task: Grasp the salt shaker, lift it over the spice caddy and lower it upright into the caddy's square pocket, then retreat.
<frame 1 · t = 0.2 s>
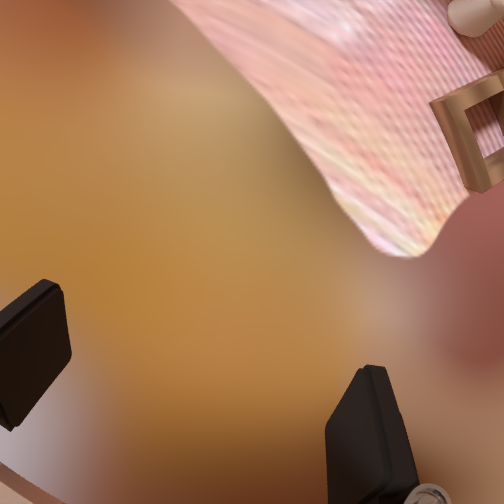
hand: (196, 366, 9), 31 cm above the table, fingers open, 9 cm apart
salt shaker: (458, 22, 26), on the table
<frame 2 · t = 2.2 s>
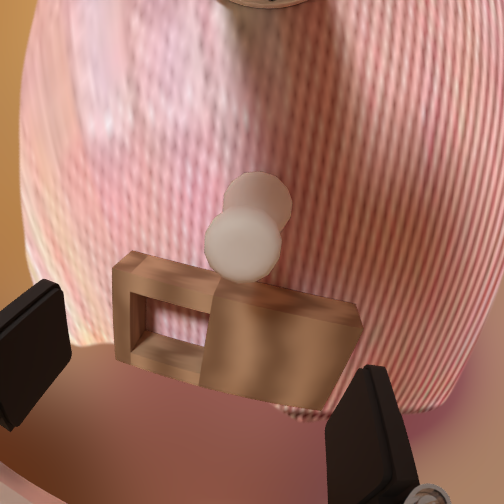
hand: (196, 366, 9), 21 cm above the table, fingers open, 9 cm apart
caddy: (231, 325, 34), on the table
salt shaker: (260, 199, 29), on the table
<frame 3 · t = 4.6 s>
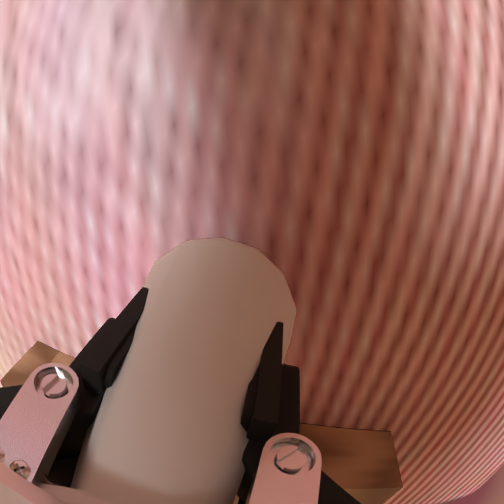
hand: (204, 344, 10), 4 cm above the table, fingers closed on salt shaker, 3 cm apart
caddy: (196, 451, 19), on the table
salt shaker: (228, 283, 14), on the table, touching gripper
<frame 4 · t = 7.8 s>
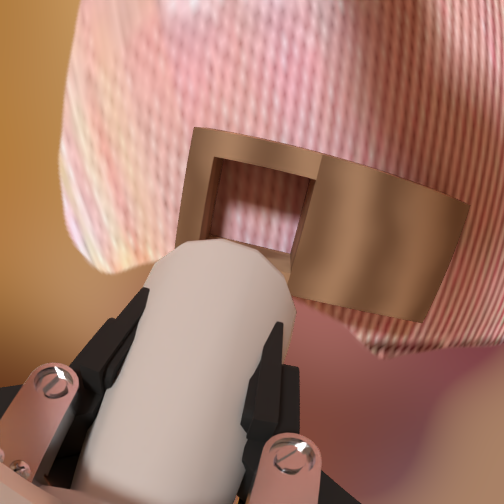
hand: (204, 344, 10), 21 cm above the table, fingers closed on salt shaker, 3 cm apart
caddy: (321, 219, 29), on the table
salt shaker: (228, 284, 14), point 16 cm above the table, touching gripper
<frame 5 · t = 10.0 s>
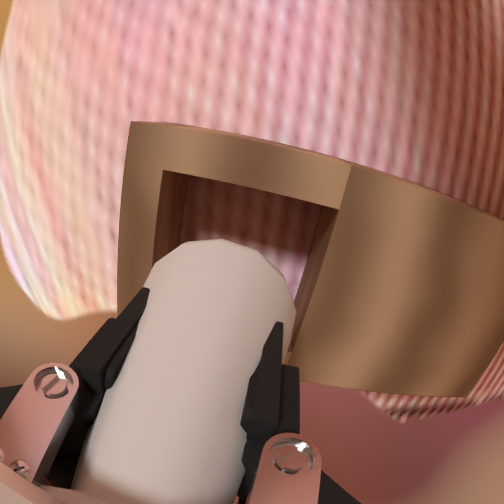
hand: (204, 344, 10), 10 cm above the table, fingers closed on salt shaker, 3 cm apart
caddy: (339, 261, 19), on the table
salt shaker: (228, 284, 14), point 6 cm above the table, touching gripper
when the fingers open (6 cm above the table, at t = 11.5 s): salt shaker drops 1 cm, resting in caddy.
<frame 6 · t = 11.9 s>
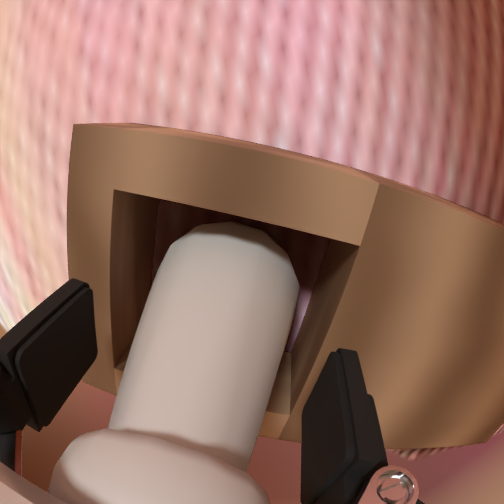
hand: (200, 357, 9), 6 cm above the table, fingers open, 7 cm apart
caddy: (351, 298, 15), on the table
salt shaker: (235, 265, 15), resting in caddy
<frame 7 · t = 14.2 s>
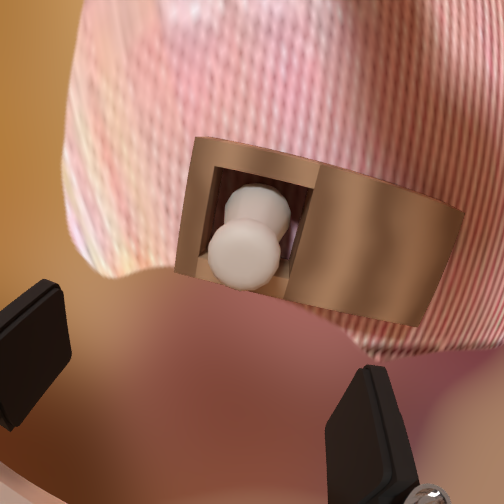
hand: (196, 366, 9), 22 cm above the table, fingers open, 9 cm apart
caddy: (319, 226, 30), on the table
salt shaker: (259, 209, 30), resting in caddy
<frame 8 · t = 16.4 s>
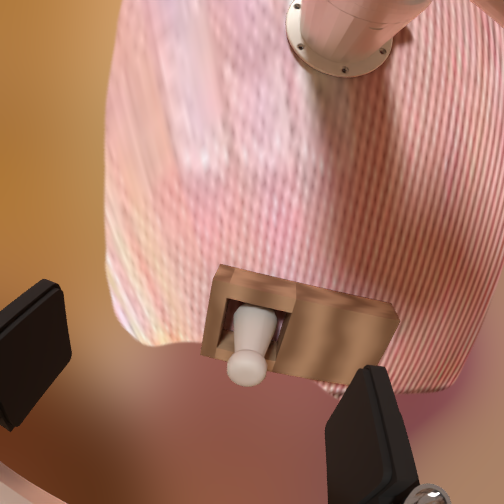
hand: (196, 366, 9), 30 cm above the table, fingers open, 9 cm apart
caddy: (297, 322, 43), on the table
salt shaker: (256, 311, 43), resting in caddy
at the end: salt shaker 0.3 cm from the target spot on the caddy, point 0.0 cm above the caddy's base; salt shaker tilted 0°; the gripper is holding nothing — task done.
